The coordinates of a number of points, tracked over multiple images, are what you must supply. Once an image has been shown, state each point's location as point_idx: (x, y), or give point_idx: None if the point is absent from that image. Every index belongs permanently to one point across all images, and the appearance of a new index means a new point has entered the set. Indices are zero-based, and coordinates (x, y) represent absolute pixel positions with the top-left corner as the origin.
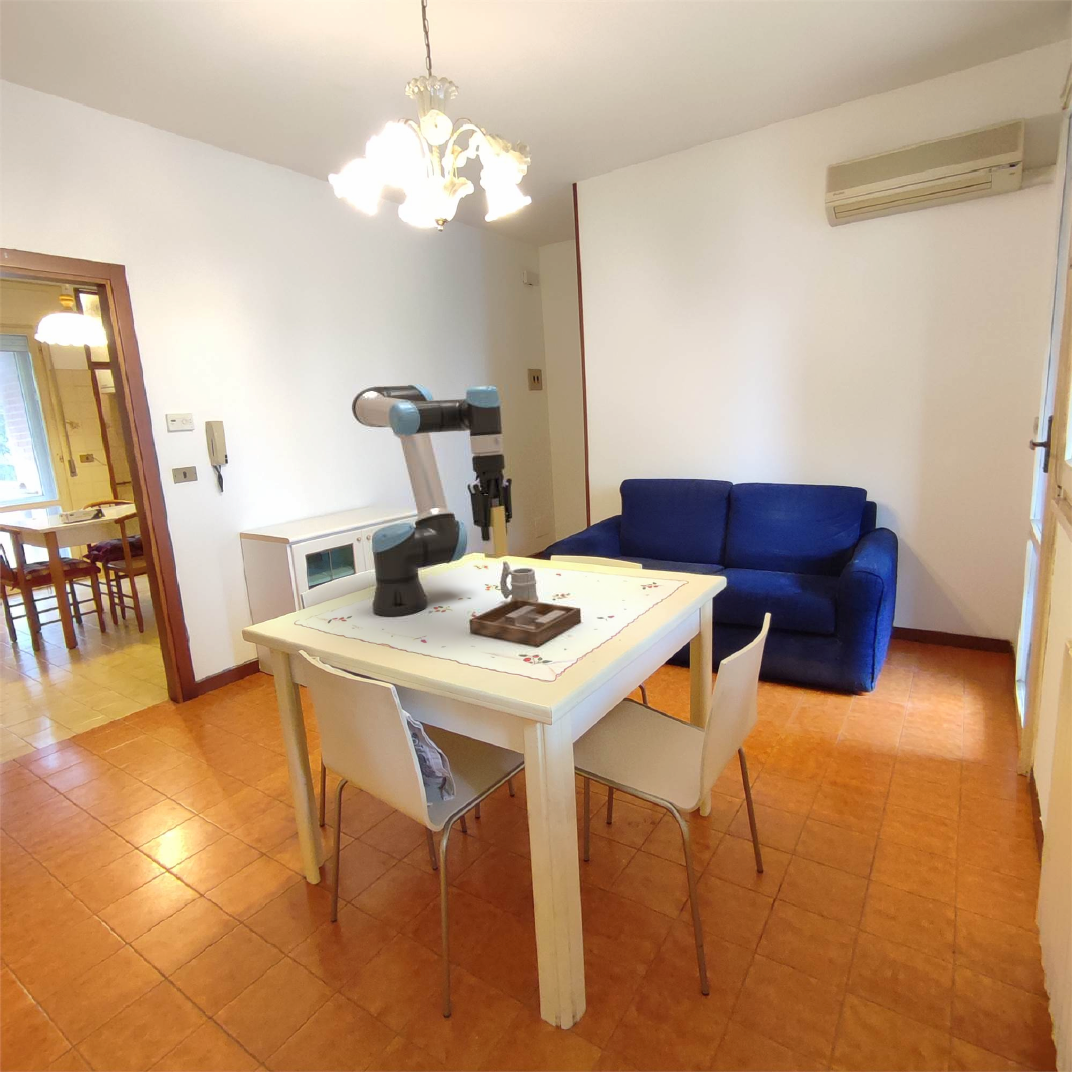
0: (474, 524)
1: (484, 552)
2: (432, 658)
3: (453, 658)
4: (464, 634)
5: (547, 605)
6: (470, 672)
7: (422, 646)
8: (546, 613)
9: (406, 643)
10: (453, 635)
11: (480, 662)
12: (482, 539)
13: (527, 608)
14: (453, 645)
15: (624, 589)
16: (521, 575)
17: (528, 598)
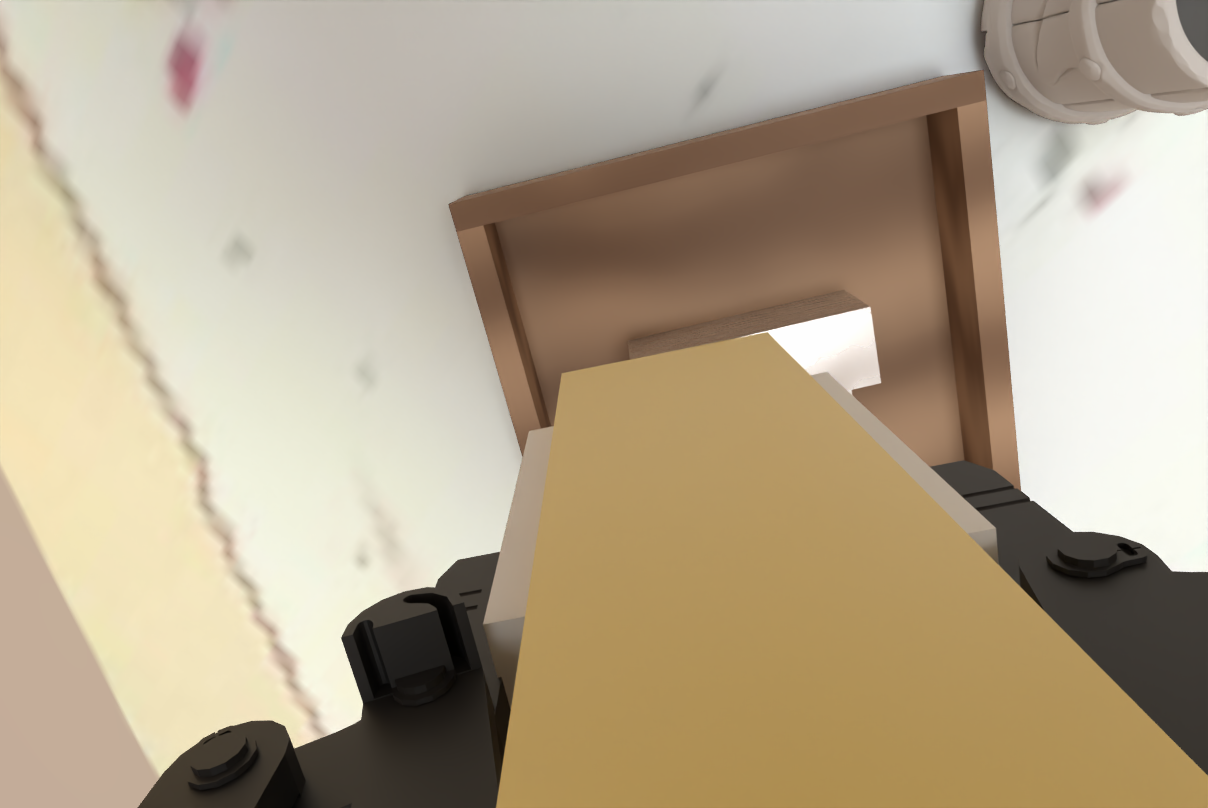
0: (186, 769)
1: (528, 436)
2: (118, 351)
3: (205, 432)
4: (430, 177)
5: (981, 370)
6: (193, 614)
7: (141, 148)
8: (956, 344)
9: (78, 14)
10: (372, 136)
11: (284, 564)
12: (446, 578)
13: (825, 361)
14: (290, 280)
15: None
16: (1163, 57)
17: (1068, 104)
